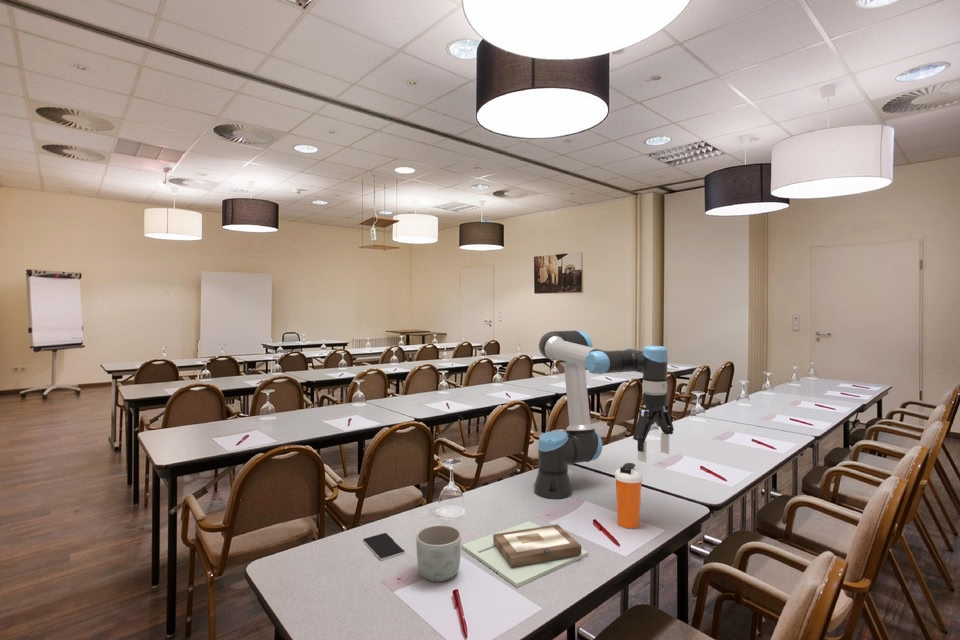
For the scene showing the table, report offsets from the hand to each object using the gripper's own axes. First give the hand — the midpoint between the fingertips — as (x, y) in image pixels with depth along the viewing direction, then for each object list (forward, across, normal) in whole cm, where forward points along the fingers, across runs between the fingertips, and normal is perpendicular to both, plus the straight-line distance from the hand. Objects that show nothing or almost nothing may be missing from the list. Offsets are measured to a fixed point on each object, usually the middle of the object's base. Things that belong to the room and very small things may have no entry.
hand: (653, 456), depth 159 cm
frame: (+23, -42, +13) cm, 49 cm away
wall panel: (+24, -44, +16) cm, 53 cm away
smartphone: (+25, -76, +45) cm, 92 cm away
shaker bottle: (+25, -3, +7) cm, 26 cm away
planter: (+25, -70, +22) cm, 78 cm away
